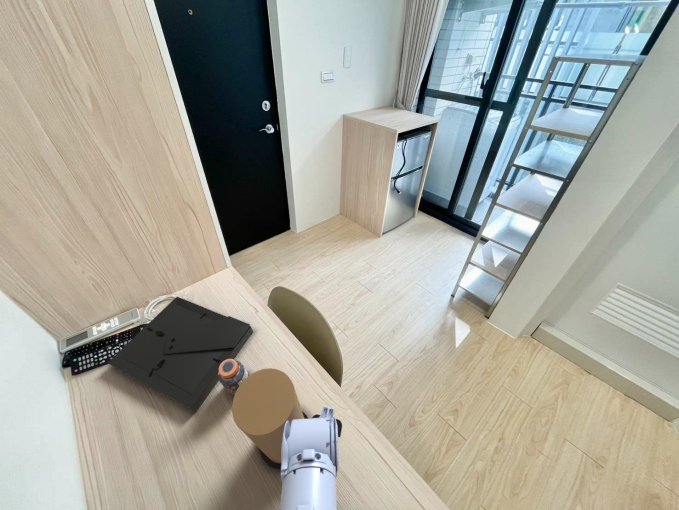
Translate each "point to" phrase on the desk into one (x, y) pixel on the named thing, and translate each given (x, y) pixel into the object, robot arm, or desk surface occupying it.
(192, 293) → the desk surface
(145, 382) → the picture frame
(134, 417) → the desk surface
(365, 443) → the desk surface
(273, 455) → the tan pedal trash can
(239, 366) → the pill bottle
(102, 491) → the desk surface
